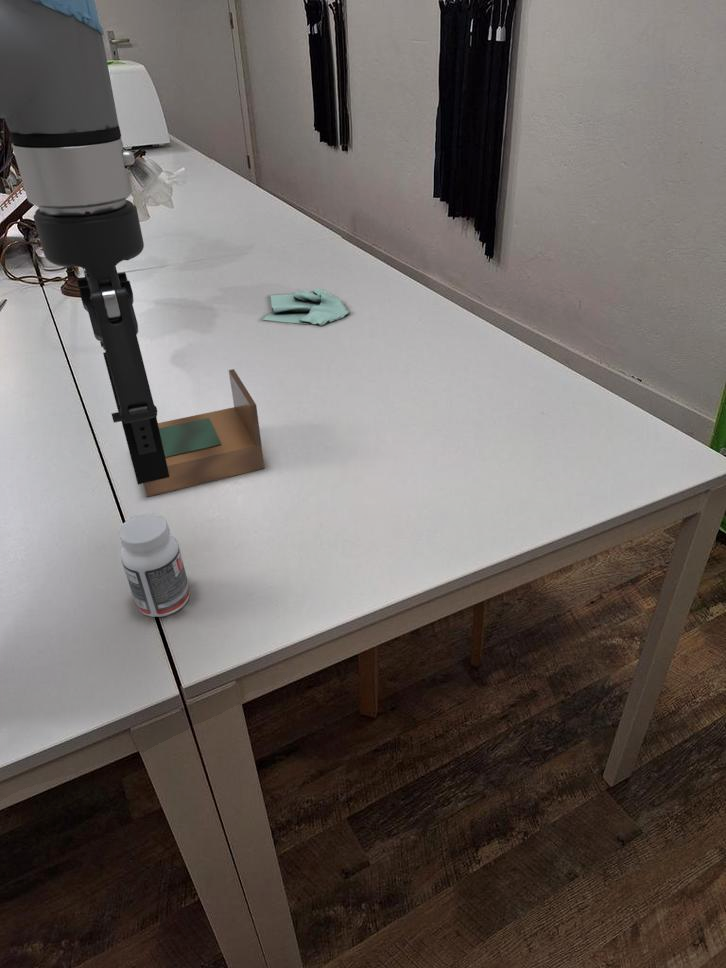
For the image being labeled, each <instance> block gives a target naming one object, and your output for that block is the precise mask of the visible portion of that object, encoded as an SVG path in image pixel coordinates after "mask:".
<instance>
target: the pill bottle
mask: <svg viewBox="0 0 726 968" xmlns="http://www.w3.org/2000/svg"><path fill="white" fill-rule="evenodd" d="M170 532H171V531H170V526H169V523H168V520H167V519H166V518H165V517H164V516H162V515H160V514H159V513H158V514H157V513H141V514H138V515H135V516H133V517H130V518H128V519H126V521H124V522H123V523H122V524H121V525H120V527H119V529H118V536H119V540H120V544H121V546H122V548H121V551H120V559H121V564H122V567H123V569H124V572H125V576H126V579H127V582H128V586H129V588H130V591H131V595H132V597H133V600H134V604H135V605H136V608H137V610H138V611H139V612H140V613H141V614H143V615H145V616H148V617H153V618H155V617H156V618H161V617H167V616H169V615H172V614H173V613H176V612H178V611H179V610H181V609H182V608H183V607H184V606H185V605H186V604H187V602H188V601H189V598H190V595H191V589H190V585H189V580H188V575H187V573H186V568H185V565H184V561H183V557H182V553H181V550H180V546H179V542H178V540H177V539H176V537H175V536H174V535H173V534H172V533H170Z"/></svg>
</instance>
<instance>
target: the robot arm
mask: <svg viewBox="0 0 726 968" xmlns="http://www.w3.org/2000/svg"><path fill="white" fill-rule="evenodd" d="M103 36H105V33H104V29H103V27H102V25H101V22H100V17H99V14H98V10H97V6H96V2H95V0H0V119H4V121H5V123H6V126H7V128H8V131H9V136H10V140H11V148H12V151H13V154H14V158H15V163H16V165H17V168H18V171H19V175H20V178H21V182H22V185H23V188H24V193H25V196H26V199H27V202H29V203H30V204H32V205H33V206H35V207H38V209H36V210H35V212H34V215H33V221H34V224H35V228H36V231H37V235H38V238H39V242H40V245H41V248H42V252H43V255H44V257H45V259H46V260H47V261H48V262H49V263H51V264H53V265H54V266H55V265H56V266H59V267H63V268H75V267H78V268H81V269H82V271H83V275H84V277H78V278H75V280H76V284H77V288H78V291H79V296H80V299H81V303H82V307H83V309H84V310H85V311H86V312H87V313H88V317H89V320H90V324H91V328H92V332H93V335H94V338H95V340H97V341H99V343H100V347H101V348H103V351H104V352H102V354H103V359H104V363H105V366H106V369H107V374H108V378H109V383H110V385H111V389H112V393H113V396H114V397H113V398H114V401H115V404H116V409H117V412H112V413H111V417H112V421H113V423H119V422H121V423H122V424H121V425H122V429H123V433H124V437H125V440H126V444H127V448H128V452H129V456H130V460H131V464H132V467H133V471H134V474H135V479H136V482H137V485H142V484H143V483H147V482H151V481H155V480H159V479H164V478H168V477H170V476H169V472H168V467H167V463H166V458H165V454H164V449H163V445H162V440H161V436H160V431H159V427H158V423H159V422H158V418H157V417H158V408H157V405H155V402H154V399H153V394H152V391H151V386H150V383H149V379H148V374H147V371H146V367H145V363H144V361H143V360H144V359H143V356H142V352H141V348H140V344H139V340H138V333H139V325H138V320H137V316H136V313H135V309H134V308H135V307H134V305H133V304H134V293H133V289H132V286H131V282H130V280H129V279H128V276H127V274H126V272H125V271H123V272H118V270H117V265H118V264H119V263H121V262H123V261H130V260H133V259H134V258H137V257H138V256H139V255H140V254H141V253H142V252H143V250H144V248H145V243H144V237H143V233H142V228H141V223H140V218H139V213H138V208H137V206H136V205H135V204H134V203H133V202H132V201H130V200H127V199H128V198H129V197H130V196H131V195H132V193H133V187H132V183H131V177H130V173H129V171H128V170H127V169H126V168H125V167H126V166H131V165H134V164H135V162H136V158H135V155H134V153H133V152H132V151H131V150H123V149H124V143H123V140H122V131H121V129H120V127H121V126H120V125H119V119H118V114H117V109H116V102H115V96H114V91H113V86H112V81H111V75H110V70H109V69H110V68H109V64H108V59H107V54H106V48H105V42H104V37H103Z"/></svg>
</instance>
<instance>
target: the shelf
mask: <svg viewBox="0 0 726 968" xmlns="http://www.w3.org/2000/svg"><path fill="white" fill-rule="evenodd" d="M228 375H229V381H230V389H231V395H232V401H233V402H232V403H233V406H232V407H229V408H223V409H219V410H214V411H209V412H205V413H204V412H203V413H199V414H195V415H190V416H186V417H181V418H176V419H170V420H165V421H161V422H158V427H159V431H160V436H161V440H162V445H163V449H164V454H165V458H166V463H167V467H168V472H169V476H170V477H168V478H164V479H159V480H155V481H151V482H147V483H142V484H143V488H144V492H145V495H146V497H147V498H148V497H153V496H156V495H161V494H165V493H169V492H173V491H178V490H182V489H186V488H189V487H193V486H198V485H202V484H206V483H211V482H214V481H218V480H223V479H226V478H231V477H235V476H239V475H244V474H248V473H251V472H252V473H253V472H256V471H259V470H264V469H265V461H264V454H263V445H262V439H261V431H260V423H259V416H258V415H259V414H258V408H257V403H256V401H255V400H254V399H253V397H252V395H251V394H250V392H249V391H248V390H247V387H246V386H245V385H244V382H243V381H242V380H241V378H240V377H239V375H238V373H237V371H236V370H235V369H234V368H232V369H229V370H228Z"/></svg>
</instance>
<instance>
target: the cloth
mask: <svg viewBox="0 0 726 968" xmlns="http://www.w3.org/2000/svg"><path fill="white" fill-rule="evenodd" d="M270 305H271V309H272V311H271V312H270V313H269V314H268V315H266V316H264V317H263V318H262V321H267V322H278V323H284V324H285V323H286V324H297V325H307V324H311V325H319V326H320V327H323V326H325V325H327V324H331V323H333V322H335V321H339V320H342V319H344V317H345V316H348V315H349V314H350V311H348V310H347V307H345V304H344V303H343V301H342V300H340V298H338V297H337V296H335V295H334V294H333V293H330V292H329V291H327V290H325V289H322V288H320V287H319V288H318V287H317V288H315V289H314V290H312V292H311V291H309V290H302V291H301V290H300V289H298V290H297V291H296V292H295V293H290V294H273V295H270Z"/></svg>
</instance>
